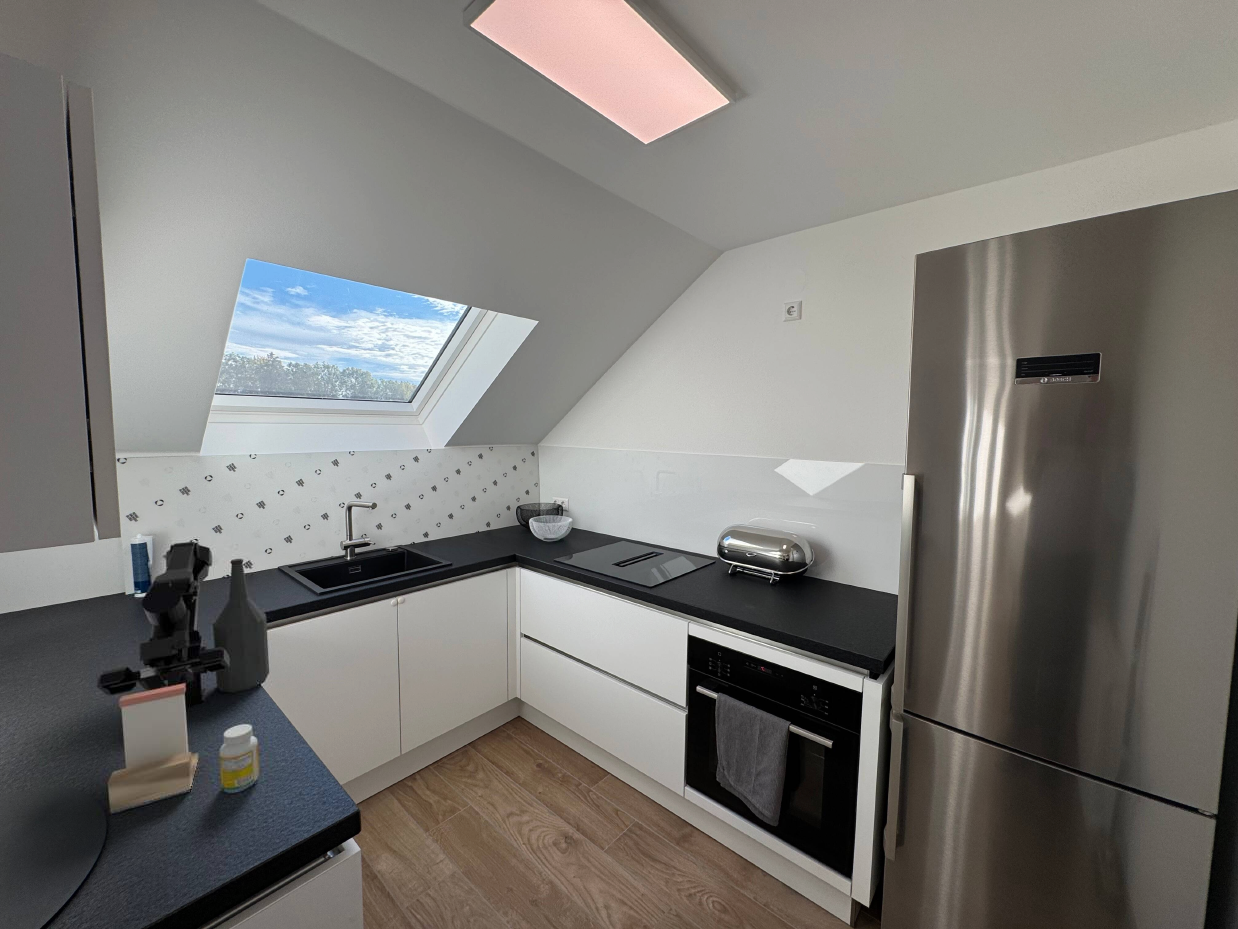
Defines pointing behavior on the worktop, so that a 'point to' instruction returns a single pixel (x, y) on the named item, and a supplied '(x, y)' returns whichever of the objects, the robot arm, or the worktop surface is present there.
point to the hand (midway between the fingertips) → (164, 715)
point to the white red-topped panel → (154, 724)
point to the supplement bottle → (239, 758)
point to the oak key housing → (151, 780)
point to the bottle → (241, 637)
